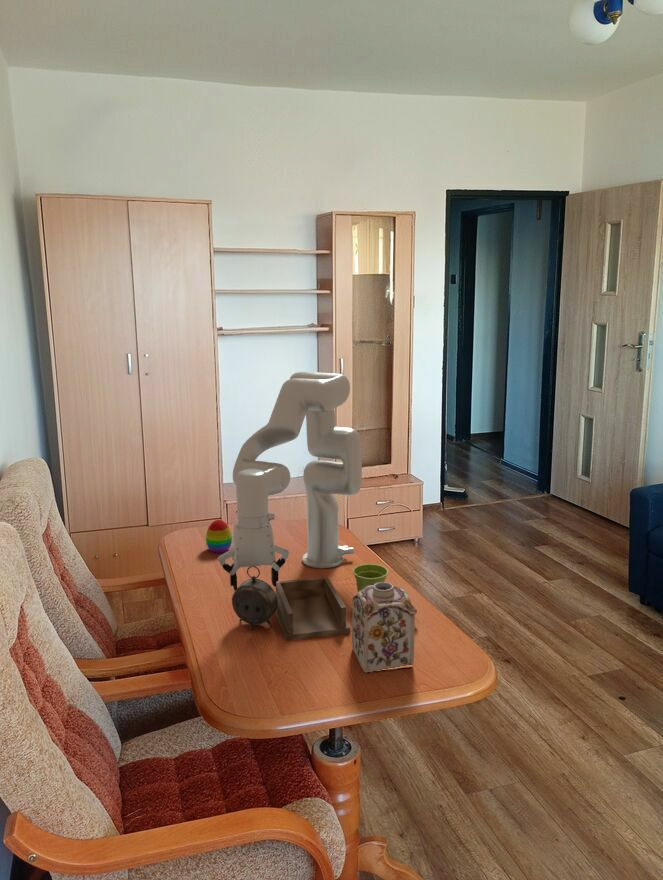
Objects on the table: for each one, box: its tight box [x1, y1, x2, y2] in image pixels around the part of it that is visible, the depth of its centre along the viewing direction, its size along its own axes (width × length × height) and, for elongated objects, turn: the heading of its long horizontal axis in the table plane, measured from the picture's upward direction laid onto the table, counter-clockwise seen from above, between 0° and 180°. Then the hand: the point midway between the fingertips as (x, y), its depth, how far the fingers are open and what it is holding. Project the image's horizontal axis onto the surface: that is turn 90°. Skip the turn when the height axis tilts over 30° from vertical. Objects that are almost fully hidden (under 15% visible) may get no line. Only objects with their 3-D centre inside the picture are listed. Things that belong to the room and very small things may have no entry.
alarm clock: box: [231, 566, 278, 631], centre depth 178 cm, size 11×5×16 cm, turn 71°
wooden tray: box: [274, 576, 351, 642], centre depth 183 cm, size 16×20×6 cm
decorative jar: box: [351, 581, 416, 674], centre depth 163 cm, size 12×12×18 cm
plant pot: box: [352, 563, 389, 593], centre depth 193 cm, size 9×9×9 cm
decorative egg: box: [205, 519, 233, 554], centre depth 228 cm, size 8×8×10 cm
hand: (254, 586), depth 177 cm, fingers open, 9 cm apart
